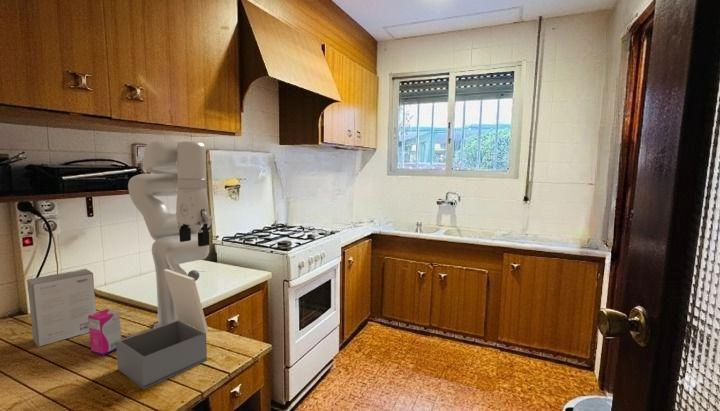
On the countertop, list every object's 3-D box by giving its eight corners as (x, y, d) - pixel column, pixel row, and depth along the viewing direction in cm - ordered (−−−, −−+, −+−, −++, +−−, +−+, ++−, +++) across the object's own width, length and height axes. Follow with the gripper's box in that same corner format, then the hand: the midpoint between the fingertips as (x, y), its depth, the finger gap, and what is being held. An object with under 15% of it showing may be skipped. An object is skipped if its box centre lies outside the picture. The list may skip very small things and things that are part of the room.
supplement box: (109, 343, 112) (107, 307, 111) (122, 347, 110) (120, 311, 109) (89, 352, 107) (87, 314, 106) (102, 356, 105) (100, 318, 104)
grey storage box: (117, 369, 98) (116, 341, 97) (179, 344, 112) (178, 320, 111) (143, 389, 90) (142, 358, 89) (206, 360, 103) (206, 333, 103)
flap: (163, 270, 106) (182, 261, 111) (178, 319, 111) (196, 309, 116) (191, 279, 98) (211, 270, 102) (206, 333, 103) (224, 321, 107)
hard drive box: (91, 324, 126) (87, 268, 124) (98, 330, 121) (94, 272, 119) (31, 340, 114) (26, 278, 112) (36, 347, 109) (31, 283, 107)
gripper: (164, 184, 106) (166, 241, 108) (196, 187, 96) (198, 250, 98) (188, 183, 112) (190, 237, 114) (221, 186, 102) (223, 245, 104)
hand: (194, 243), depth 106 cm, fingers open, 9 cm apart
